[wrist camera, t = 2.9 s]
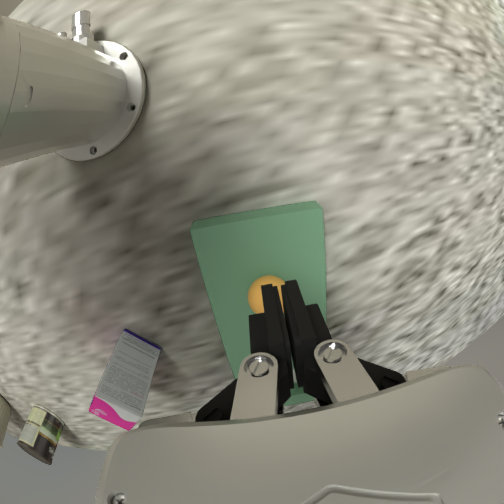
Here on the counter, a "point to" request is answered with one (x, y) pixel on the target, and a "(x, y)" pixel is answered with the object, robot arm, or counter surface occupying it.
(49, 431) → the coffee can
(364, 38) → the counter surface
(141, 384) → the supplement box
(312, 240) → the green
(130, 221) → the counter surface
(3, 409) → the canister
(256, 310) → the ball
